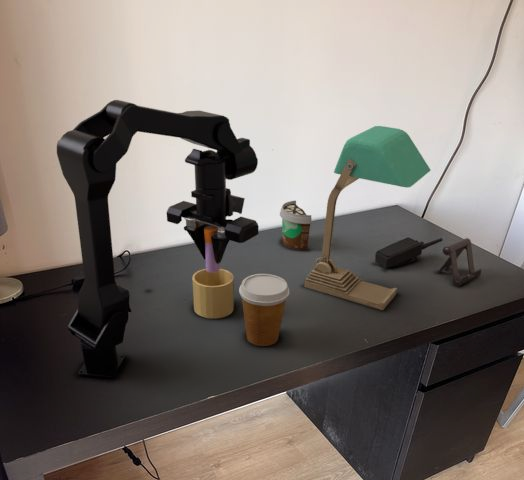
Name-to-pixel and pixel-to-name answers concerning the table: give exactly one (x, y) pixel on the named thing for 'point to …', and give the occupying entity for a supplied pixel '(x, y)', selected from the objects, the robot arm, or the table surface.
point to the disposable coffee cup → (263, 307)
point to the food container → (295, 226)
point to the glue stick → (210, 249)
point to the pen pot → (213, 293)
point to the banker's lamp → (374, 169)
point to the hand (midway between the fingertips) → (212, 261)
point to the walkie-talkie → (402, 252)
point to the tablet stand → (454, 252)
